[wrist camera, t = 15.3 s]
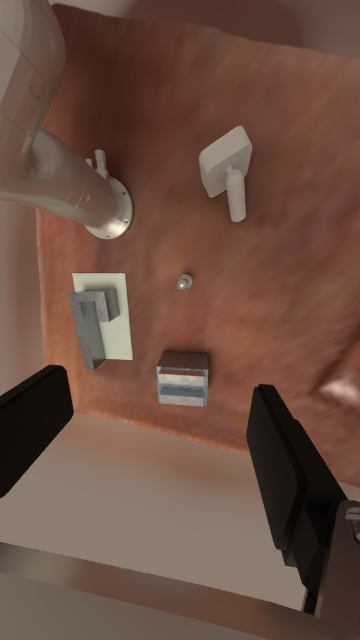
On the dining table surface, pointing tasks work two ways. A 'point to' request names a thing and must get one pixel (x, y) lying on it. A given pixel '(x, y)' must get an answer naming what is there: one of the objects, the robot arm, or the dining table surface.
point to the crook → (93, 321)
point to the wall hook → (227, 169)
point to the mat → (117, 329)
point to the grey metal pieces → (183, 371)
